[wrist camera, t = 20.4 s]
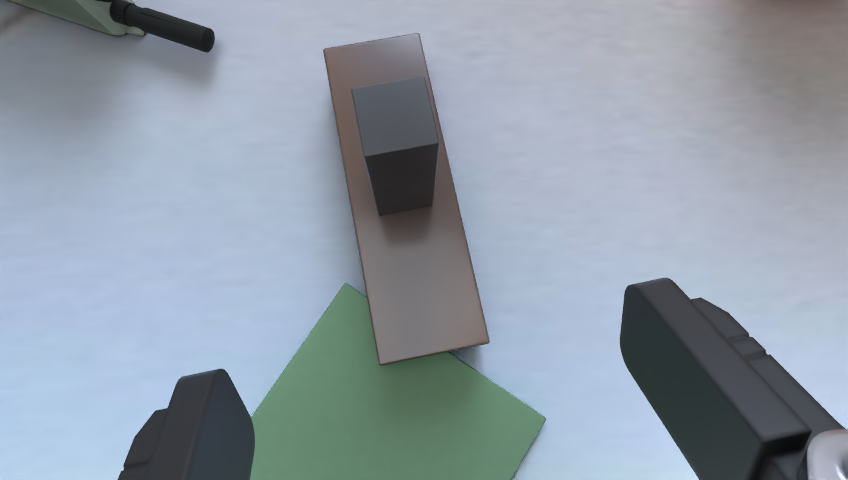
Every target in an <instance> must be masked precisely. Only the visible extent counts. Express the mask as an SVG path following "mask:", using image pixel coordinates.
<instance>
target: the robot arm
mask: <svg viewBox="0 0 848 480" xmlns="http://www.w3.org/2000/svg"><path fill="white" fill-rule="evenodd" d="M620 347H621V352H622V356H623V359H624V362H625V364H626V366H627V368H628V370H629V372H630V373H631V375H632V376H633V378H634V379H635V381H636V383H637V384H638V386H639V387H640V389H641V390H642V392H643V393H644V395H645V396H646V398H647V400H648V401H649V403H650V404H651V406H652V407H653V409H654V410H655V412H656V413H657V415H658V417H659V418H660V420H661V421H662V423H663V424H664V426H665V427H666V429H667V430H668V432H669V433H670V435H671V437H672V438H673V440H674V441H675V443H676V444H677V446H678V447H679V449H680V450H681V452H682V454H683V455H684V457H685V458H686V460H687V461H688V463H689V464H690V466H691V467H692V469H693V471H694V472H695V474H696V475H697V477H698V478H699V480H848V430H846V429H845V428H844V427H843V426H842V425H840V424H839V423H838V422H837V421H836V420H835V419H834V418H833V417H832V416H831V415H830V414H829V413H828V412H827V411H826V410H825V409H824V408H823V407H822V406H821V405H820V404H819V403H818V402H817V401H816V400H815V399H814V398H813V397H812V396H811V395H810V394H809V393H808V392H807V391H806V390H805V389H804V388H803V387H802V386H801V385H800V384H799V383H798V382H797V381H796V380H795V379H794V378H793V377H792V376H791V375H790V374H789V373H788V372H787V371H786V370H785V369H784V368H783V367H782V366H781V365H780V364H779V363H778V362H777V361H776V360H775V359H774V358H773V357H772V356H771V355H767V354H766V350H765V349H764V348H763V347H762V346H761V345H760V344H759V343H758V342H757V341H756V340H755V339H754V338H753V337H751V338H750V337H749V333H748V332H747V331H746V330H745V329H744V328H743V327H742V326H741V325H740V324H739V323H738V322H737V321H736V320H735V319H734V318H733V317H732V316H731V315H730V314H729V313H728V312H726V311H724V310H722V309H721V308H719V307H717V306H715V305H713V304H712V303H710V302H708V301H706V300H704V299H703V298H696V299H692V300H690V298H689V297H688V296H687V295H686V294H685V293H684V292H683V291H682V290H681V289H680V288H679V287H678V286H677V285H676V284H675V283H674V282H673V281H672V280H671V279H669V278H661V279H656V280H651V281H647V282H642V283H637V284H632V285H629V286H627V288H626V290H625V295H624V304H623V314H622V324H621V334H620ZM254 450H255V433H254V427H253V423H252V419H251V417H250V415H249V413H248V411H247V409H246V407H245V405H244V403H243V401H242V400H241V398H240V396H239V394H238V392H237V390H236V388H235V386H234V384H233V382H232V380H231V378H230V377H229V375H228V373H227V372H226V371H225V370H224V369H217V370H212V371H207V372H202V373H198V374H193V375H188V376H183V377H181V378H180V379H179V380H178V382H177V384H176V386H175V389H174V392H173V395H172V397H171V400H170V403H169V406H168V408H166V409H162V410H157V411H155V412H154V413H153V414H152V416H151V417H150V418H149V420H148V421H147V422H146V423H145V425H144V426H143V427H142V428H141V430H140V431H139V432H138V434H137V435H136V436H135V438H134V440H133V443H132V445H131V448H130V450H129V453H128V455H127V458H126V460H125V463H124V465H123V466H124V471H121V473H120V475H119V478H118V480H250V476H251V469H252V463H253V457H254Z"/></svg>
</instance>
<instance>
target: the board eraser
mask: <svg viewBox="0 0 848 480" xmlns="http://www.w3.org/2000/svg"><path fill="white" fill-rule="evenodd" d="M323 52H324V57H325V63H326V69H327V74H328V80H329V86H330V91H331V97H332V103H333V108H334V114H335V119H336V125H337V131H338V136H339V142H340V148H341V153H342V159H343V165H344V170H345V176H346V182H347V187H348V193H349V199H350V204H351V210H352V216H353V221H354V227H355V233H356V238H357V244H358V250H359V255H360V261H361V266H362V272H363V278H364V283H365V289H366V295H367V300H368V306H369V312H370V317H371V323H372V329H373V334H374V340H375V346H376V351H377V357H378V363H379V365H380V366H382V365H388V364H393V363H397V362H402V361H407V360H412V359H417V358H421V357H426V356H431V355H436V354H441V353H445V352H450V351H455V350H460V349H465V348H469V347H474V346H479V345H483V344H488V343H489V336H488V332H487V328H486V323H485V319H484V314H483V310H482V306H481V301H480V297H479V293H478V288H477V284H476V279H475V275H474V271H473V266H472V262H471V258H470V253H469V249H468V244H467V240H466V236H465V231H464V227H463V223H462V218H461V214H460V210H459V205H458V201H457V196H456V192H455V188H454V183H453V179H452V175H451V170H450V166H449V161H448V157H447V153H446V148H445V144H444V140H443V135H442V131H441V126H440V122H439V118H438V113H437V109H436V105H435V100H434V96H433V91H432V87H431V83H430V78H429V74H428V70H427V65H426V61H425V57H424V52H423V48H422V43H421V39H420V35H419V33H415V34H409V35H403V36H397V37H391V38H385V39H379V40H373V41H367V42H361V43H355V44H349V45H343V46H337V47H331V48H325V49H324V50H323Z"/></svg>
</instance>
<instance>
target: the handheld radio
mask: <svg viewBox="0 0 848 480" xmlns="http://www.w3.org/2000/svg"><path fill="white" fill-rule="evenodd" d="M9 1H12V2H15V3H18V4H21V5H24V6H27V7H30V8H33V9H36V10H39V11H42V12H45V13H48V14H51V15H54V16H57V17H60V18H63V19H66V20H69V21H72V22H75V23H77V24H80V25H83V26H86V27H89V28H92V29H95V30H98V31H101V32H104V33H107V34H111V35H124V34H125V33H130V34H135V35H140V36H143V35H144V33H145V32H147V33H150V34H153V35H156V36H159V37H162V38H165V39H168V40H171V41H174V42H177V43H180V44H183V45H186V46H189V47H192V48H195V49H198V50H200V51H203V52H209V51H210V50H211V49H212V48H213V45H214V41H215V36H214V32H213V30H212V29H210V28H207V27H204V26H201V25H198V24H195V23H192V22H188V21H185V20H182V19H179V18H176V17H173V16H170V15H167V14H164V13H161V12H158V11H155V10H152V9H149V8H141V7H138V6H136V5H135V4H134V3H133V2H132V1H131V0H9Z"/></svg>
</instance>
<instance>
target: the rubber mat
mask: <svg viewBox="0 0 848 480" xmlns="http://www.w3.org/2000/svg"><path fill="white" fill-rule="evenodd" d="M251 419H252V423H253V427H254V433H255V450H254V457H253V463H252V469H251V476H250V480H511V478H512V477H513V475H514V473H515V472H516V470H517V468H518V466H519V465H520V463H521V461H522V460H523V458H524V456H525V454H526V453H527V451H528V449H529V448H530V446H531V444H532V442H533V441H534V439H535V437H536V435H537V434H538V432H539V430H540V429H541V427H542V425H543V423H544V422H545V420H546V418H545V417H544V416H542V415H541V414H539V413H538V412H536V411H535V410H533V409H532V408H530V407H529V406H527V405H526V404H524V403H523V402H521V401H520V400H518V399H517V398H515V397H514V396H512V395H511V394H509V393H508V392H507V391H505V390H504V389H502V388H501V387H499V386H498V385H496V384H495V383H493V382H492V381H490V380H489V379H487V378H486V377H484V376H483V375H481V374H480V373H478V372H477V371H475V370H474V369H472V368H471V367H469V366H468V365H467V364H465V363H464V362H462V361H461V360H459V359H458V358H456V357H455V356H453V355H452V354H450V353H449V352H445V353H441V354H436V355H431V356H426V357H421V358H417V359H412V360H407V361H402V362H397V363H393V364H388V365H382V366H380V365H379V363H378V357H377V351H376V346H375V340H374V334H373V329H372V323H371V317H370V312H369V306H368V300H367V297H366V296H364V295H363V294H361V293H360V292H358V291H357V290H355V289H354V288H352V287H351V286H349V285H348V284H346V283H345V284H344V285H343V287H342V288H341V289H340V291H339V292H338V294H337V295H336V297H335V298H334V300H333V301H332V302H331V304H330V305H329V307H328V308H327V310H326V311H325V312H324V314H323V315H322V317H321V318H320V320H319V321H318V322H317V324H316V325H315V327H314V328H313V330H312V331H311V332H310V334H309V335H308V337H307V338H306V340H305V341H304V342H303V344H302V345H301V347H300V348H299V350H298V351H297V353H296V354H295V355H294V357H293V358H292V360H291V361H290V363H289V364H288V365H287V367H286V368H285V370H284V371H283V373H282V374H281V375H280V377H279V378H278V380H277V381H276V383H275V384H274V385H273V387H272V388H271V390H270V391H269V393H268V394H267V395H266V397H265V398H264V400H263V401H262V403H261V404H260V406H259V407H258V408H257V410H256V411H255V413H254V414H253V416H252V417H251Z"/></svg>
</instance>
